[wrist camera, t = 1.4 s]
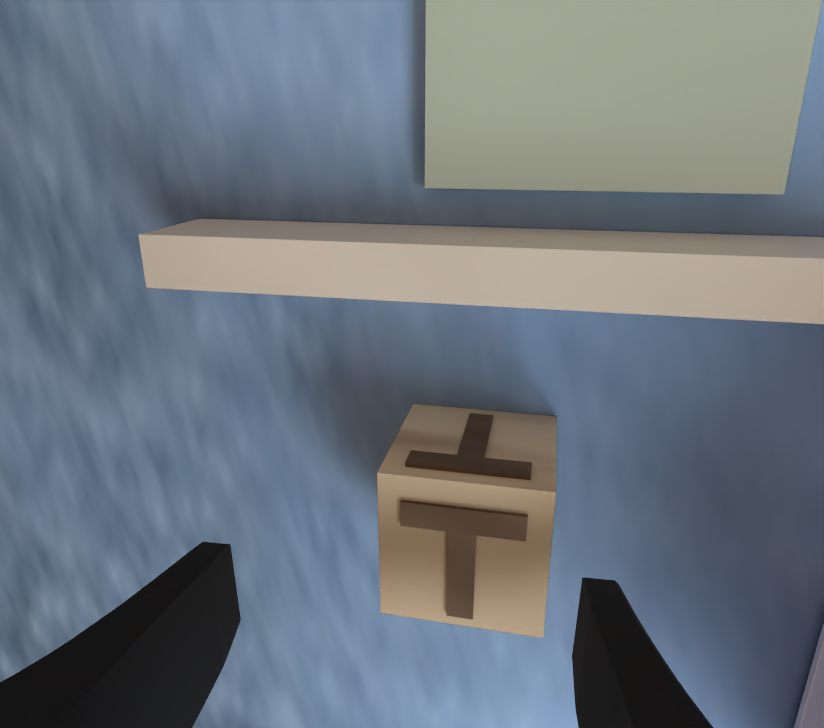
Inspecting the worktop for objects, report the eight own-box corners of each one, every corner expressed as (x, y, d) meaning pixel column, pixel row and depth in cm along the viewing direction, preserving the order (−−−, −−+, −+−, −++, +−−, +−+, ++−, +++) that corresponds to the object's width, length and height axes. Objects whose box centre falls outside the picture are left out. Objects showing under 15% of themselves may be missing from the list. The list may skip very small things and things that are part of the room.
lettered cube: (546, 538, 23) (543, 641, 19) (413, 521, 24) (379, 615, 20) (557, 412, 22) (556, 490, 17) (413, 399, 23) (375, 471, 18)
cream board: (910, 296, 18) (986, 332, 15) (205, 264, 22) (146, 287, 19) (926, 240, 18) (1009, 265, 14) (199, 218, 22) (138, 234, 19)
